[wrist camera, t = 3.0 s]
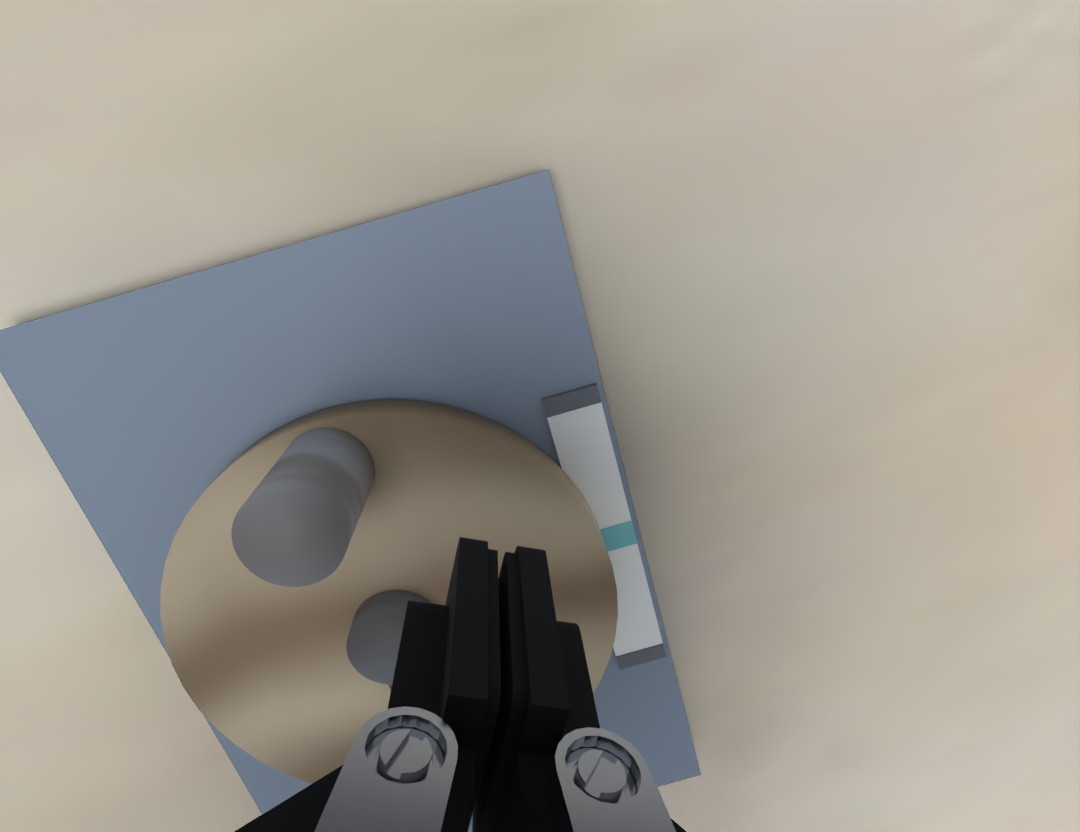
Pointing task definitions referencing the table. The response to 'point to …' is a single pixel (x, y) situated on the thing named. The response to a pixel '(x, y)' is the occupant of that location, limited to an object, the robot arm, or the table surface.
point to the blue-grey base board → (349, 399)
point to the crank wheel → (357, 566)
